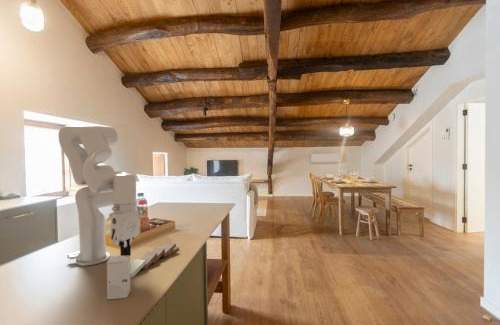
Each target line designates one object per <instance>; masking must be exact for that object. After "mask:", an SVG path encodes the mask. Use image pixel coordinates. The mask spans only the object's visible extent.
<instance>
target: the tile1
mask: <svg viewBox="0 0 500 325" xmlns="http://www.w3.org/2000/svg"><path fill="white" fill-rule="evenodd" d="M157 256H158V255H157V253H155V252H152V251H146V253H145V254H144V255H143V256H142V257H141V258H140V260H146V264H145V265H144V266H143V267H142V268H141V269H140V270H145V271H146V270H147V269H148V268H149V267H150V266H151V265H152V264H151V263H152V262H153V261H154V260H155V258H156V257H157Z"/></svg>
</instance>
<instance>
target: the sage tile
mask: <svg viewBox="0 0 500 325" xmlns="http://www.w3.org/2000/svg"><path fill="white" fill-rule="evenodd" d="M140 259H141V258H140ZM140 259H139V258H135V259H134V260H132V261H131V262H130V279H132V278H134V276H136V275H137V273H138V272H140V270H142V269H141V268H142V267H143V266H144V265H145V264H146V260H140Z"/></svg>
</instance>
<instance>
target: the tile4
mask: <svg viewBox="0 0 500 325" xmlns="http://www.w3.org/2000/svg"><path fill="white" fill-rule="evenodd" d="M179 248H180V247H179V246H176V247H175V248H174V249H173V250H172V251H171V252H170V253H169V254H168V255H167V256H166V257H170V256H171V255H172V253H173V254H174V253H176V252H177V251H179V250H180V249H179ZM169 255H170V256H169Z"/></svg>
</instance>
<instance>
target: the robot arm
mask: <svg viewBox="0 0 500 325" xmlns="http://www.w3.org/2000/svg"><path fill="white" fill-rule="evenodd" d="M118 139H119V137H118V131H117V130H116V129H115V127H114V126H110V125H101V124H86V125H83V124H82V125H79V124H67V125H63V126H62V127H61V128H60V129H59V130H58V142H59V146H60V148H61V149H62V152H63V153H64V155H65V156H66V158H67V160H68V163H69V166H70V170H71V174H72V178H73V180H74V183H75V184H76V185H77V186H80V187H81V188H79V189H78V190H76V192H75V196H74V199H75V205H76V209H77V213H78V214H77V215H78V231H79V233H78V235H79V237H78V238H79V250H78V251H76V252H70V253H67V255H66V256H67V259H69V260H74V259H75V264H76V265H77V266H80V267H81V266H83V267H85V266H86V267H88V266H92V265H93V266H94V265H98V264H101V263H104V262H106V261H108V260H109V259H110V257H111V253H109V252H108V251H107V243H106V219H105V218H106V217H105V215H104V214H103V213H102V211H100V208H106V207H111V206H112V207H111V210H112V211H113V212H112V213H111V219H110V220H111V221H110V232H109V233H110V239H111V245H112V246H118V247H119V249H120V256H126V255H130V257H131V255H132V254H131V246H132V244H133V241H134V239H135V238H136V237H138V236H139V235H140V233H141V219H140V214H139V210H138V208H137V177H136V175H135V174H134V173H129V172H125V171H115V170H114V167H113V166H112V165H110V164H107V163H104V162H106V161H108V160H109V159H110V158H111V157H112V155H113V151H112V149H111V146H113V145H115V144H116V143H117V142H118Z"/></svg>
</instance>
